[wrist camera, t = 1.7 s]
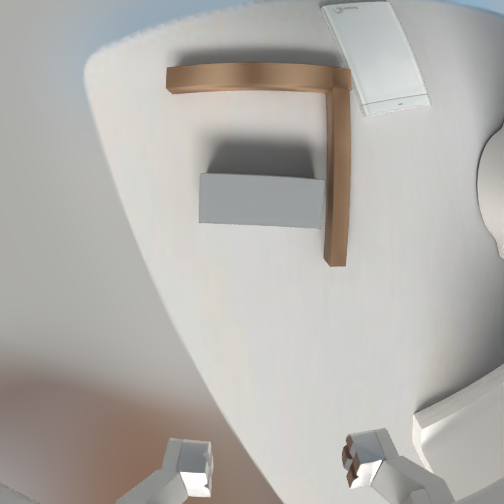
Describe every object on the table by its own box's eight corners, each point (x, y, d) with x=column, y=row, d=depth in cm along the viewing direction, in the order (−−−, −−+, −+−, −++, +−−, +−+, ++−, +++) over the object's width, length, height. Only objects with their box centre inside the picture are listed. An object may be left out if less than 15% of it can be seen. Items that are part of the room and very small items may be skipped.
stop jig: (342, 76, 25) (350, 69, 23) (340, 258, 30) (348, 266, 28) (173, 75, 25) (166, 67, 23) (177, 260, 30) (171, 268, 27)
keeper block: (314, 178, 28) (324, 180, 24) (311, 220, 29) (320, 228, 25) (206, 172, 28) (200, 173, 24) (205, 215, 29) (198, 222, 25)
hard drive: (321, 4, 22) (367, 116, 25) (390, 0, 21) (433, 104, 25) (318, 11, 24) (361, 118, 27) (385, 6, 23) (426, 106, 26)
